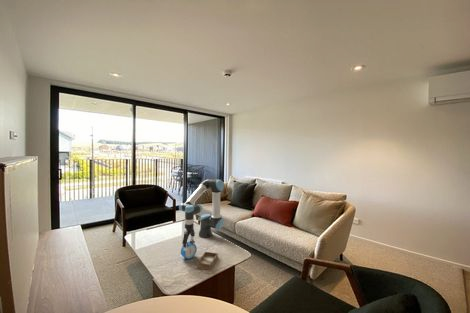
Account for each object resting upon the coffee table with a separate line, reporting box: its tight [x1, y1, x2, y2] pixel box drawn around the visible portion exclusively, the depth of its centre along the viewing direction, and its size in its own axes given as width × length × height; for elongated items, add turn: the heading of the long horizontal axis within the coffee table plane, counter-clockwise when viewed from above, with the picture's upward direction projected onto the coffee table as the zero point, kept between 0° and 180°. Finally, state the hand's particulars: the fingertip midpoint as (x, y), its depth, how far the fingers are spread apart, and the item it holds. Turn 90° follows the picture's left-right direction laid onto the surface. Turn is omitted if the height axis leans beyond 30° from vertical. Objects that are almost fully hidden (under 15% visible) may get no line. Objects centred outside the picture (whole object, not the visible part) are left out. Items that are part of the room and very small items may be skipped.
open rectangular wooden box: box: [196, 251, 219, 271], centre depth 168 cm, size 19×12×4 cm, turn 168°
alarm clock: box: [180, 240, 198, 261], centre depth 175 cm, size 13×6×15 cm, turn 135°
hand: (188, 247), depth 175 cm, fingers open, 13 cm apart
